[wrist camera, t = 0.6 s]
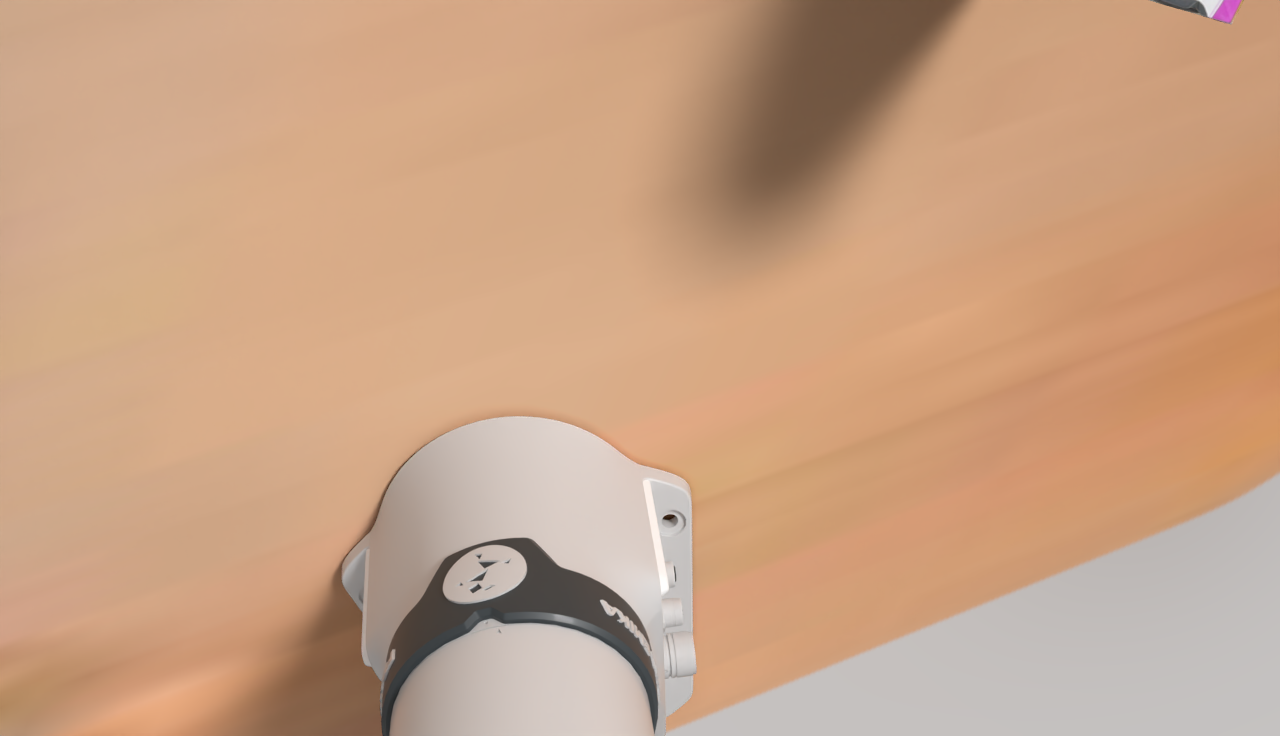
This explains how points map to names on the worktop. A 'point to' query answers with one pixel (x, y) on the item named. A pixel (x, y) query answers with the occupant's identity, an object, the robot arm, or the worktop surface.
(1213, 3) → the candy bar box
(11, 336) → the worktop surface
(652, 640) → the robot arm
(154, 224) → the worktop surface
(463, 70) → the worktop surface
